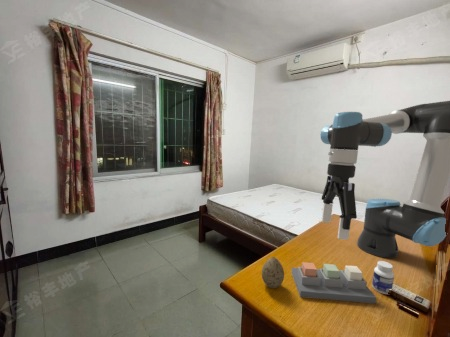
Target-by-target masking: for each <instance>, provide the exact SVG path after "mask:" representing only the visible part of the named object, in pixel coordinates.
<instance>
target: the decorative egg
mask: <svg viewBox="0 0 450 337" xmlns="http://www.w3.org/2000/svg"><path fill="white" fill-rule="evenodd" d="M261 279H262V281H263V283H264V284H265V286H267V287H269V288H271V289H276V288H279V287H280V286H281V285H282V284H283V282H284V280H285V269H284V268H283V265H282V263H281V262H280V261H279V259H278V258H277V257H275V256H272V257H270V258H268V259H267V260H266V261H265V262H264V264H263V265H262V269H261Z"/></svg>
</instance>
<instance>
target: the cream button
mask: <svg viewBox="0 0 450 337" xmlns="http://www.w3.org/2000/svg"><path fill="white" fill-rule="evenodd" d="M344 270H345V272H344V274H345V275H346V276H347V277H348V279H349V280H359V281H362V277H363V272H362V271H361V269H360V268H359V267H358V266H357V265H345V266H344Z"/></svg>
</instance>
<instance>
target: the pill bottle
mask: <svg viewBox="0 0 450 337" xmlns="http://www.w3.org/2000/svg"><path fill="white" fill-rule="evenodd" d="M393 269H394V267H393V265H392V264H391V263H390V262H387V261H384V260H378V261H377V264H376V266H375V267H374V269H373V273H372V274H373V275H372V276H373V277H372V283H371V287H372V288H373V289H374V290H375V291H376V292H378V293H380V294H383V295H389V294H388V292H389V289H392V290H393V285H394V279H395V274H394V272H393Z"/></svg>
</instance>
